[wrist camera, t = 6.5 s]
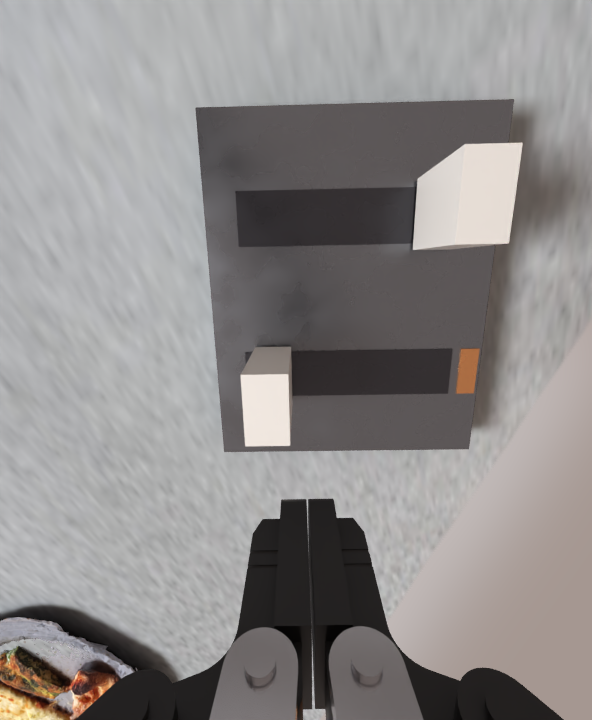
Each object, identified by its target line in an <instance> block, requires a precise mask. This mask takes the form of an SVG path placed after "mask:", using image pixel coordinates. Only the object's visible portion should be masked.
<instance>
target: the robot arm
mask: <svg viewBox="0 0 592 720" xmlns="http://www.w3.org/2000/svg"><path fill="white" fill-rule="evenodd" d="M308 538H309V552H308ZM309 575H310V576H309ZM311 622H312V623H311ZM312 646H313V670H314V693H315V709H325V710H326V720H563V719H562V718H561V717H560V716H559V715H557V714H556V713H555V712H554V711H553V710H551V709H550V708H549V707H548V706H547V705H545V704H544V703H543V702H542V701H540V700H539V699H538V698H537V697H536V696H535V695H533V694H532V693H531V692H530V691H529V690H527V689H526V688H525V687H524V686H523V685H521V684H520V683H519V682H517V681H516V680H515V679H513V678H512V677H510V676H508V675H506V674H504V673H502V672H500V671H497V670H494V669H490V668H476V669H473V670H470V671H469V672H467V673H466V674H465V675H464V676H463V677H462V679H461V681H459V680H456V679H453V678H450V677H447V676H445V675H442V674H439V673H436V672H433V671H431V670H428V669H426V668H424V667H422V666H420V665H418V664H417V663H415V662H414V661H412V660H411V659H409V658H408V657H407V656H406V655H405V654H404V653H403V652H402V651H401V650H400V648H399V647H398V646H397V645H396V643H395V641H394V640H393V638H392V636H391V634H390V632H389V629H388V626H387V622H386V618H385V614H384V610H383V606H382V602H381V598H380V594H379V590H378V586H377V582H376V578H375V574H374V570H373V567H372V562H371V558H370V554H369V552H368V546H367V542H366V538H365V534H364V531H363V530H362V529H361V528H360V526H359V525H358V524H357V522H356V521H355V520H354V519H353V518H336V511H335V505H334V500H333V499H308V528H307V505H306V499H289V500H281V514H280V519H263V520H262V521H261V523H260V524H259V526H258V527H257V528H256V530H255V531H254V533H253V537H252V543H251V550H250V556H249V562H248V569H247V575H246V581H245V588H244V594H243V600H242V606H241V613H240V619H239V625H238V630H237V634H236V637H235V639H234V642H233V643H232V645H231V647H230V649H229V650H228V651H227V653H226V654H225V655H224V656H223V657H222V658H221V659H220V660H219V661H218V662H217V663H216V664H215V665H213V666H212V667H210V668H209V669H207V670H205V671H203V672H201V673H198V674H196V675H193V676H191V677H188V678H186V679H183V680H181V681H178V682H176V683H173V684H172V683H171V681H170V680H169V678H168V677H167V676H166V675H165V674H163V673H161V672H160V671H157V670H151V669H145V670H139V671H136V672H133V673H131V674H129V675H127V676H125V677H123V678H122V679H120V680H119V681H117V682H116V683H115V684H114V685H112V686H111V687H110V688H109V689H108V690H107V691H106V692H105V693H104V694H102V695H101V696H100V697H99V698H98V699H97V700H96V701H95V702H94V703H93V704H92V705H91V706H90V707H88V708H87V709H86V710H85V711H84V712H83V713H82V714H81V715H80V716H79V717H78V718H77V719H75V720H303V709H312Z"/></svg>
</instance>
